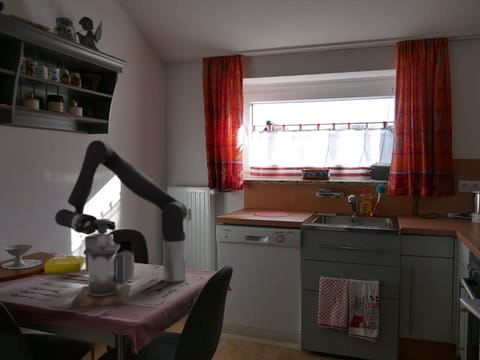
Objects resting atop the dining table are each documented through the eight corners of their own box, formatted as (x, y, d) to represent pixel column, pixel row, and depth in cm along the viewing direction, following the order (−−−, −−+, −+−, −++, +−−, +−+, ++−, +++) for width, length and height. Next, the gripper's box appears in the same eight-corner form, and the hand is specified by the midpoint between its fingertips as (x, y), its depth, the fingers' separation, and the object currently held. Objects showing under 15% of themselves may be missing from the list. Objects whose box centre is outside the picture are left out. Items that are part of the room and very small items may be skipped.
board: (130, 288, 162) (130, 284, 162) (124, 304, 144) (124, 300, 144) (83, 290, 159) (83, 286, 159) (71, 306, 142) (71, 302, 142)
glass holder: (114, 281, 171) (114, 246, 170) (113, 272, 184) (112, 239, 183) (136, 279, 174) (135, 244, 173) (133, 270, 187) (132, 238, 186)
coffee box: (96, 266, 194) (95, 233, 193) (108, 267, 193) (108, 233, 192) (85, 271, 185) (84, 236, 184) (97, 272, 184) (97, 237, 183)
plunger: (111, 248, 154) (110, 218, 153) (108, 251, 149) (108, 220, 148) (96, 248, 153) (96, 219, 152) (93, 251, 148) (93, 221, 147)
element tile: (43, 274, 181) (43, 264, 180) (50, 266, 195) (50, 256, 195) (79, 273, 184) (79, 262, 184) (84, 264, 199) (83, 254, 199)
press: (126, 287, 158) (125, 243, 157) (121, 297, 147) (121, 250, 146) (91, 288, 156) (90, 244, 155) (84, 298, 145) (83, 251, 145)
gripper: (66, 215, 156) (84, 220, 145) (101, 212, 166) (121, 216, 155) (66, 235, 157) (84, 241, 145) (102, 230, 167) (121, 236, 155)
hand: (103, 228), depth 150 cm, fingers open, 8 cm apart
